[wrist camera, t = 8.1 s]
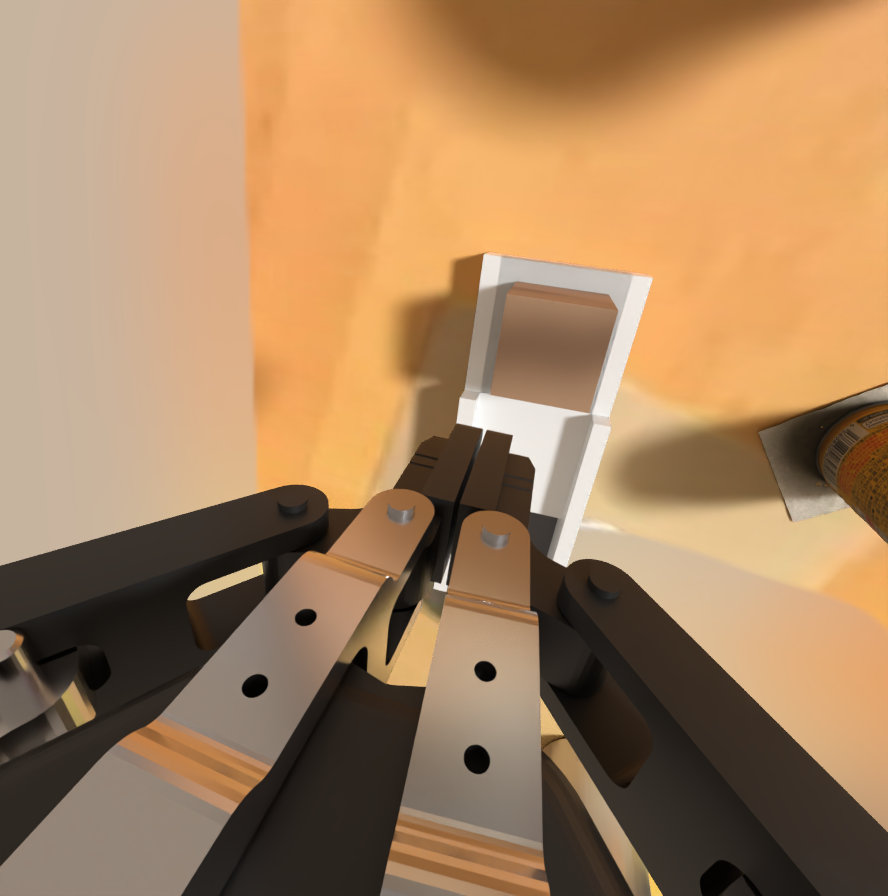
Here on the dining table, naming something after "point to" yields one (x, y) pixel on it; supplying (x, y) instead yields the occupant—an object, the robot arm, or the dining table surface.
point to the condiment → (835, 459)
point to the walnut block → (552, 345)
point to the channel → (540, 426)
